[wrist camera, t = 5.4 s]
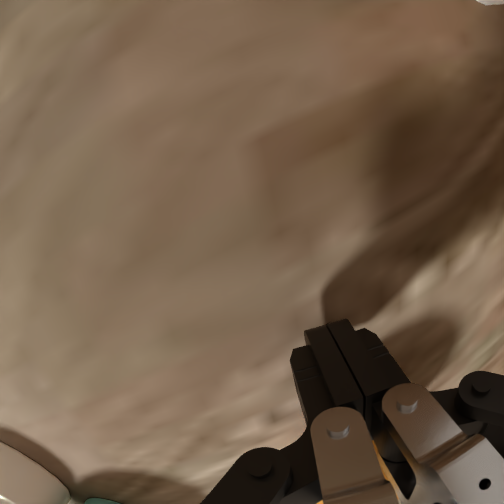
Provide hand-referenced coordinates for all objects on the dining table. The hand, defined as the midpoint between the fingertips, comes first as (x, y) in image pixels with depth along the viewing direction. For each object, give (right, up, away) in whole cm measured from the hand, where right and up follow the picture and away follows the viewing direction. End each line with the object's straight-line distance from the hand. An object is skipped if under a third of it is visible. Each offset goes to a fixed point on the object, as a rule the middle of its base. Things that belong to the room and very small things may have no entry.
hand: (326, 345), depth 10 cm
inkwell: (-21, -18, +6) cm, 29 cm away
